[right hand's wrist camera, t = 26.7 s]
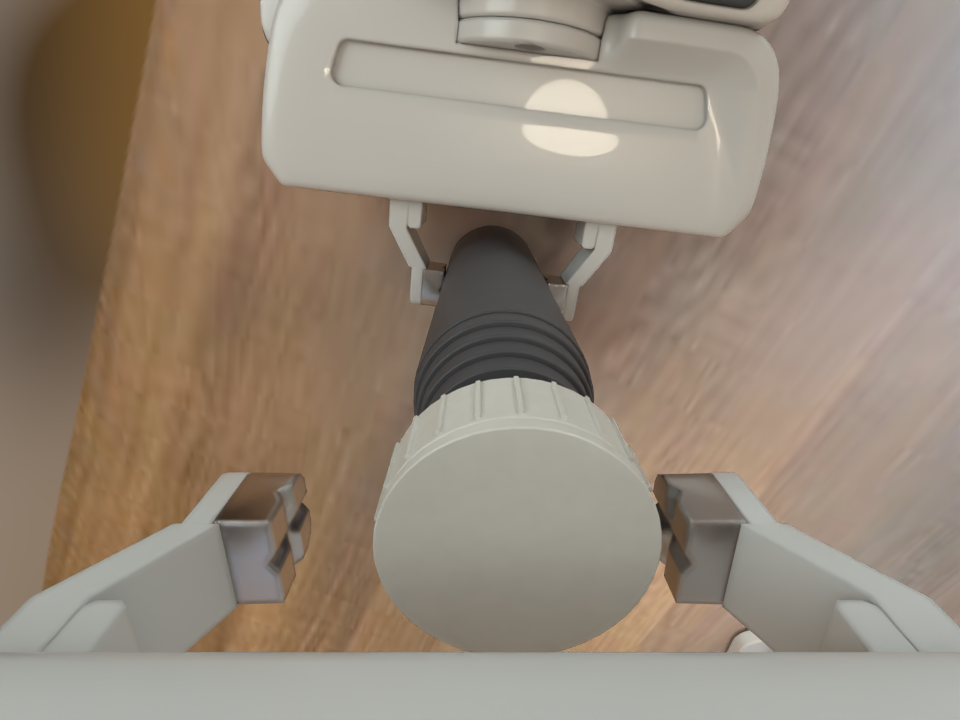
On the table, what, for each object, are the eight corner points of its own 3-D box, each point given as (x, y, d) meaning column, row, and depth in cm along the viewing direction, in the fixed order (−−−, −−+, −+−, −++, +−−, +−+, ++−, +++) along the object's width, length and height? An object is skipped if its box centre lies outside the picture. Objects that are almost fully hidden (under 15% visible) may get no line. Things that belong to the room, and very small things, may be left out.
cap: (681, 498, 10) (722, 567, 8) (493, 615, 11) (495, 697, 10) (532, 321, 9) (544, 361, 7) (337, 474, 10) (307, 540, 8)
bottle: (550, 271, 29) (706, 529, 9) (488, 325, 30) (504, 662, 10) (494, 207, 28) (527, 342, 8) (431, 267, 29) (321, 518, 9)
